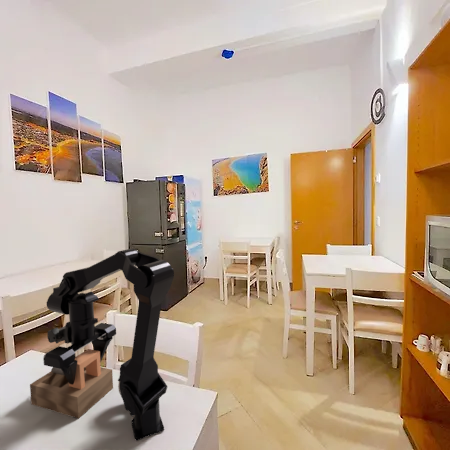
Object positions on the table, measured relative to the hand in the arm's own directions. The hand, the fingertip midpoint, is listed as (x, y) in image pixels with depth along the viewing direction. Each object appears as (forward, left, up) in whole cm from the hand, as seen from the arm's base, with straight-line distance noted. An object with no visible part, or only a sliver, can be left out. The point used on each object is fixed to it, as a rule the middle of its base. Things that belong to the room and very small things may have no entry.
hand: (85, 374), depth 75 cm
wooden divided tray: (+3, +3, -7) cm, 8 cm away
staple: (0, 0, -2) cm, 2 cm away
